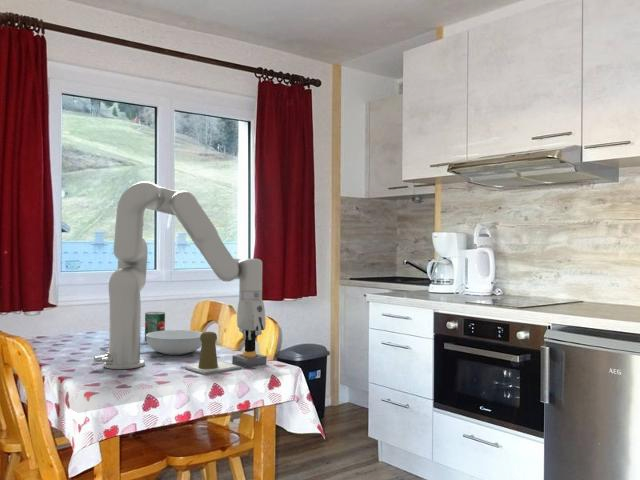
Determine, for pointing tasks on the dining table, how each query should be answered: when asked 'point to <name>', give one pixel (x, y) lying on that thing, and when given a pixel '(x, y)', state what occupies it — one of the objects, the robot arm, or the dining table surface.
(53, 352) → the dining table surface
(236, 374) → the dining table surface
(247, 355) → the button
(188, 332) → the serving bowl
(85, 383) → the dining table surface
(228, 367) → the board
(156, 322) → the canned tomato
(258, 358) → the button housing
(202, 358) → the cork
